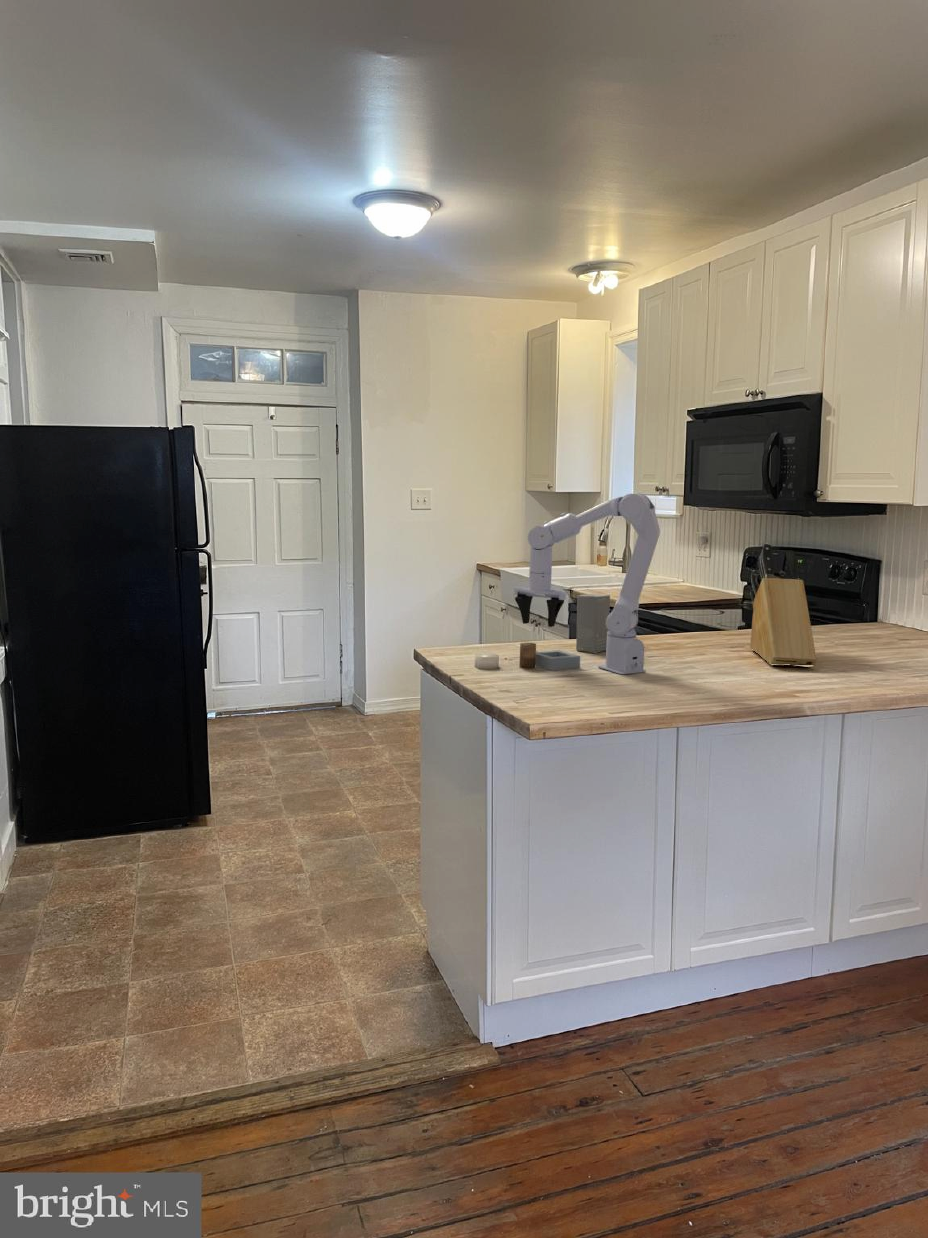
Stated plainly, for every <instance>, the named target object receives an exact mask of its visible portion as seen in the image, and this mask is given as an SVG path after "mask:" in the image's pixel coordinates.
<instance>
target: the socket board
mask: <svg viewBox="0 0 928 1238" xmlns="http://www.w3.org/2000/svg"><path fill="white" fill-rule="evenodd" d="M535 665H536V666H535V667H538V668H541V669H544V670H548V671H561V670H572V669H579V668H580V669H581V655H577V654H575V653H571V652H567V651H563V650H561V649H556V650H544V651H536V662H535Z"/></svg>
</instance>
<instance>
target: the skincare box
mask: <svg viewBox="0 0 928 1238" xmlns="http://www.w3.org/2000/svg"><path fill="white" fill-rule="evenodd" d="M610 601H611V595H610V594H598V593H597V594H595V593H590V594H589V593H588V594H587V593H585V594H579V595H577V596H576V645H575V646H576V647H575V648H576V651H578V652H579V651H580V652H587V653H593V654H598V653H602V652H606V646H607V632H608V629H607V627H606V618H607V616H608V615H609V614H610V613H611V612H610V604H611V602H610Z"/></svg>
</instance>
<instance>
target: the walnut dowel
mask: <svg viewBox="0 0 928 1238" xmlns="http://www.w3.org/2000/svg"><path fill="white" fill-rule="evenodd" d="M536 652H537V643H534V642H520V644H519V668H520V669H522V670H523V669H525V670H533V669H536V666H535V662H536Z"/></svg>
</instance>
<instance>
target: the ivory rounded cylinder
mask: <svg viewBox="0 0 928 1238" xmlns="http://www.w3.org/2000/svg"><path fill="white" fill-rule="evenodd" d="M499 655H500V654H497V653H491V652H478V653H476V654H475V655H474V667H475V668H476V669H482V670H495V669H498V668H499V663H500V656H499Z"/></svg>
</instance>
